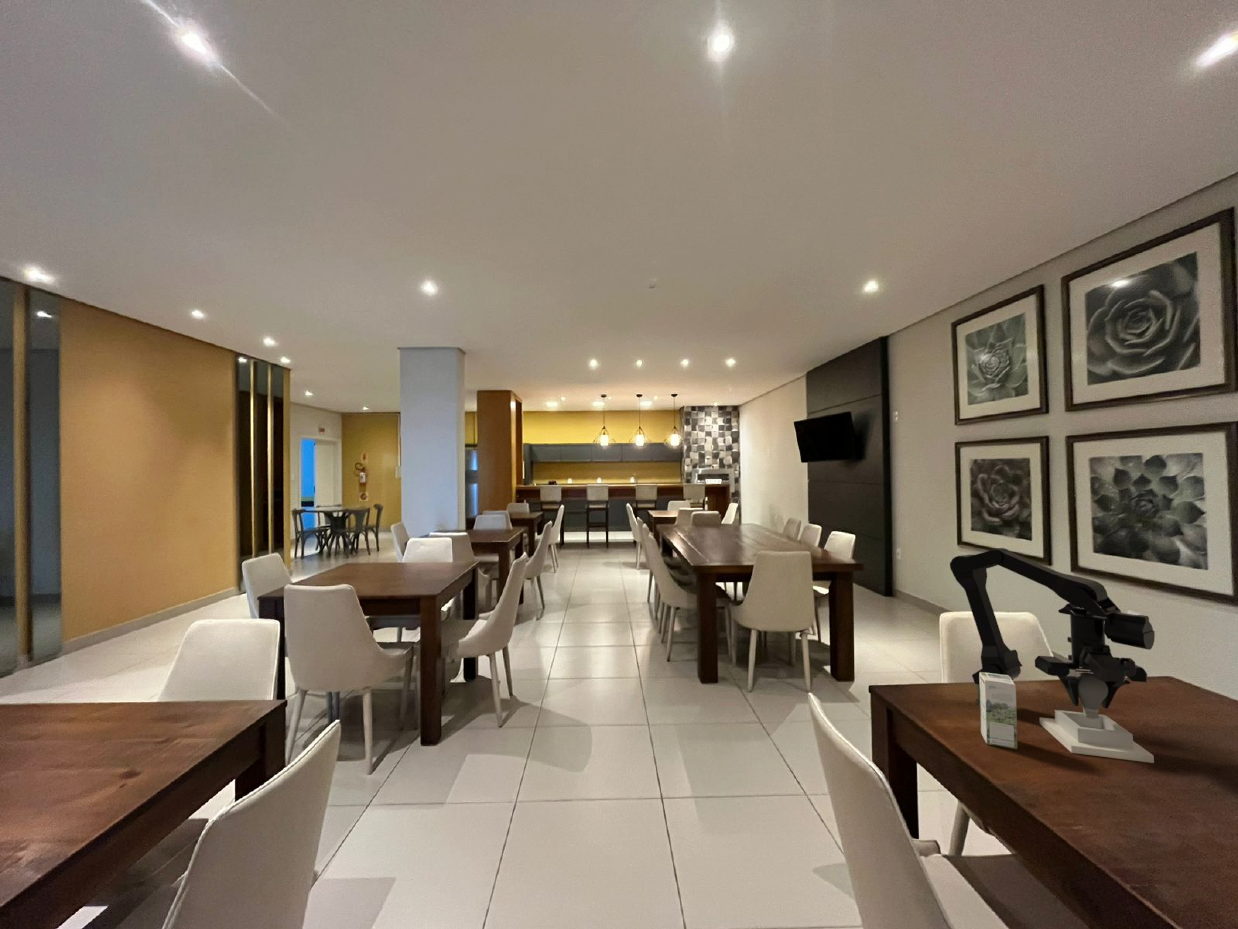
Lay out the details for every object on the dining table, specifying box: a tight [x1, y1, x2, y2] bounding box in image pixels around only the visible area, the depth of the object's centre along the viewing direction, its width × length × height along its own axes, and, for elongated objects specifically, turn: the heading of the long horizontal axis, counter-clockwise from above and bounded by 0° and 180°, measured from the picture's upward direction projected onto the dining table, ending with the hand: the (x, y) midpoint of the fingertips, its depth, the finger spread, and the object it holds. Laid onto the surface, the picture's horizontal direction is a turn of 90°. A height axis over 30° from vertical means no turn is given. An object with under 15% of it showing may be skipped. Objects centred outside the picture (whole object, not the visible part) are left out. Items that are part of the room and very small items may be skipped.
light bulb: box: [1076, 672, 1108, 719], centre depth 115 cm, size 6×6×10 cm
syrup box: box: [979, 672, 1018, 750], centre depth 115 cm, size 6×6×14 cm
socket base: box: [1039, 709, 1155, 764], centre depth 114 cm, size 14×14×4 cm
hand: (1090, 706), depth 114 cm, fingers closed on light bulb, 5 cm apart
